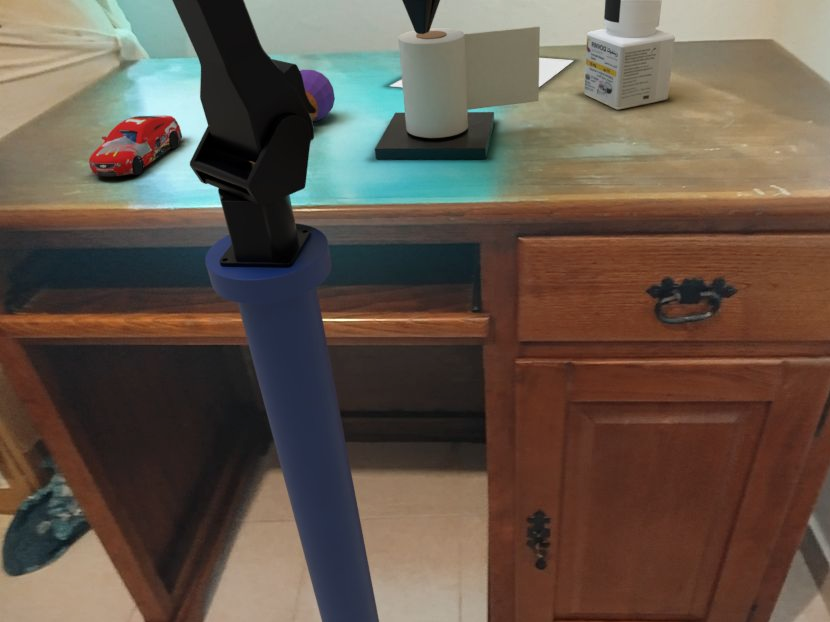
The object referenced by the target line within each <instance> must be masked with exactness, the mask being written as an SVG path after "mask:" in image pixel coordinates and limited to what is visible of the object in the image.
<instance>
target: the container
mask: <svg viewBox="0 0 830 622" xmlns="http://www.w3.org/2000/svg"><path fill="white" fill-rule="evenodd" d="M662 3H663V0H604V13H603V14H604V16H603V27H605V28H602V29H595V30H590V31H588V32H587V34H586V47H585V48H586V49H585V64H584V65H585V67H584V84H583V85H584V86H583V94H584V95H585V96H587V97H590V98H591V99H593V100H595V101H598V102H600V103H602V104H605V105H606V106H608V107H610V108H612V109H615V110H617V111H618V110H619V111H620V110H622V109H623V110H624V109H629V108H633V107H638V106H643V105H648V104H653V103H658V102H662V101H666V100H668V98H669V89H670V82H671V75H672V73H671V72H672V66H673V57H674V49H675V41H676V40H675V39H676V36H675V35H674V34H672V33H669V32H665V31H663V30H659V29H657V28H659V26H660V20H661V12H662V11H661V10H662Z"/></svg>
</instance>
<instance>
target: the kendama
mask: <svg viewBox="0 0 830 622" xmlns="http://www.w3.org/2000/svg"><path fill="white" fill-rule="evenodd" d="M299 71H300V73H301V75H302V78H303V83H304V88H305V92H306V95H307V97H308V99H309V101H310V103H311V104H312V106H313V107H314V108H315V109H316V113H310V116H311V118H312V122H318V121H320V120H322V119H325V118H326V117H327V116H328V114H329V113H330V112H331V111H332V109H333V108H334V105H335V100H336V98H335V97H336V96H335V91H334V87H333V85H332V83H331V81H330V80H329V78H328V77H326V76H325V74H324V73H322V72H320V71H317V70H314V69H301V70H300V69H299ZM250 162H252V161H250ZM252 163H254V162H252Z"/></svg>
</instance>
